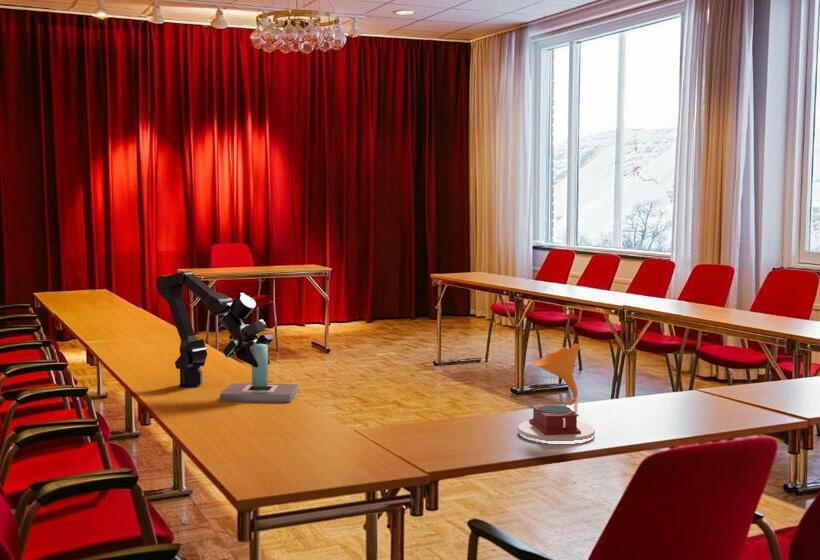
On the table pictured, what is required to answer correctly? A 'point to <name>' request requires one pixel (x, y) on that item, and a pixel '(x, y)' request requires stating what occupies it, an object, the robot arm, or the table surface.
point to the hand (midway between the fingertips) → (263, 365)
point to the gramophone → (558, 418)
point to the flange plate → (259, 393)
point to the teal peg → (260, 365)
